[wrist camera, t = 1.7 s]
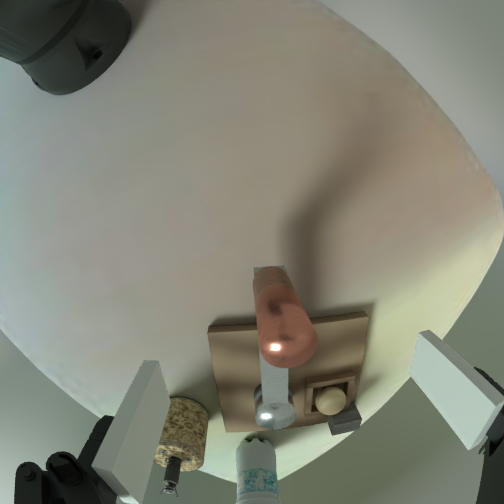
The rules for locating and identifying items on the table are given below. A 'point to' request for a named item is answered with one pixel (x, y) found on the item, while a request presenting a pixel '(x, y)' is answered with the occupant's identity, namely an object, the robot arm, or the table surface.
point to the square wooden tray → (291, 373)
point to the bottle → (256, 473)
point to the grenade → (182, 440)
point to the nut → (330, 400)
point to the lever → (279, 343)
